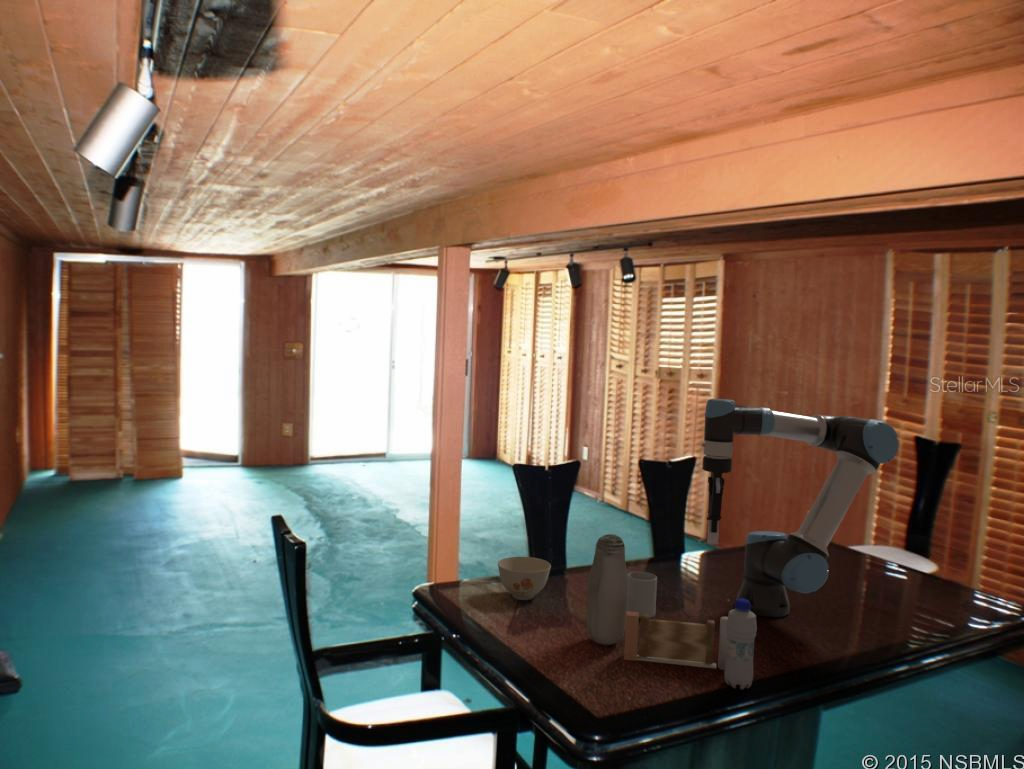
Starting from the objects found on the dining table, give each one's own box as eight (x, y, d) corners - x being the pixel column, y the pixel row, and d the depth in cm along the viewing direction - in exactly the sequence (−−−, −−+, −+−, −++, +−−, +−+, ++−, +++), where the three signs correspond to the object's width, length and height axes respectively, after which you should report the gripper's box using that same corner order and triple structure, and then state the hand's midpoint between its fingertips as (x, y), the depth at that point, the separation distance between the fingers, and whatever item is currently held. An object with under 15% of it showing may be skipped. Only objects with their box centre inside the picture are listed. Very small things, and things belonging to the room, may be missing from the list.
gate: (711, 660, 183) (713, 620, 183) (712, 663, 181) (714, 623, 181) (638, 653, 186) (640, 613, 185) (638, 656, 184) (640, 616, 184)
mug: (661, 616, 215) (663, 579, 214) (635, 620, 212) (637, 581, 211) (638, 603, 226) (639, 566, 225) (613, 605, 222) (615, 569, 222)
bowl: (487, 600, 223) (489, 566, 222) (508, 585, 238) (509, 553, 237) (538, 609, 217) (540, 575, 216) (556, 593, 232) (558, 561, 231)
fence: (730, 665, 183) (733, 617, 182) (732, 671, 180) (735, 622, 179) (624, 654, 187) (626, 607, 187) (624, 659, 184) (626, 611, 184)
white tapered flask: (615, 653, 188) (621, 542, 186) (578, 643, 193) (583, 535, 191) (631, 641, 196) (636, 535, 194) (595, 632, 201) (600, 528, 200)
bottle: (718, 678, 176) (723, 594, 175) (746, 678, 176) (751, 594, 175) (729, 691, 169) (734, 604, 168) (758, 691, 170) (763, 604, 168)
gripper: (701, 452, 209) (696, 536, 210) (705, 459, 196) (700, 548, 198) (729, 454, 208) (724, 538, 209) (734, 461, 195) (729, 550, 196)
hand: (712, 543), depth 203 cm, fingers closed
